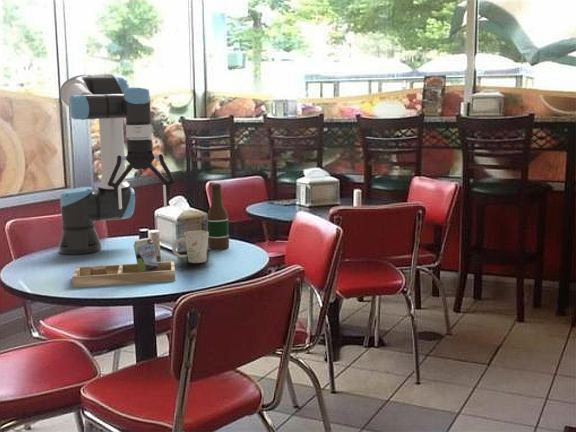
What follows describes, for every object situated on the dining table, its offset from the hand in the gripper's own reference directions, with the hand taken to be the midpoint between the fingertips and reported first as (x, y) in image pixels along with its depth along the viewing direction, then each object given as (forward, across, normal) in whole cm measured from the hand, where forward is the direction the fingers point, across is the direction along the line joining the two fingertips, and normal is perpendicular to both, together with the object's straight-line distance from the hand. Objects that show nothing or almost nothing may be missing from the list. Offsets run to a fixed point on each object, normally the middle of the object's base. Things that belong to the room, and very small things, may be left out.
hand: (143, 207), depth 219 cm
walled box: (+22, -6, -4) cm, 23 cm away
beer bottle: (+23, +26, +38) cm, 51 cm away
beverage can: (+21, 0, -4) cm, 22 cm away
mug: (+23, +15, +18) cm, 33 cm away
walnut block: (+21, -14, -4) cm, 26 cm away
